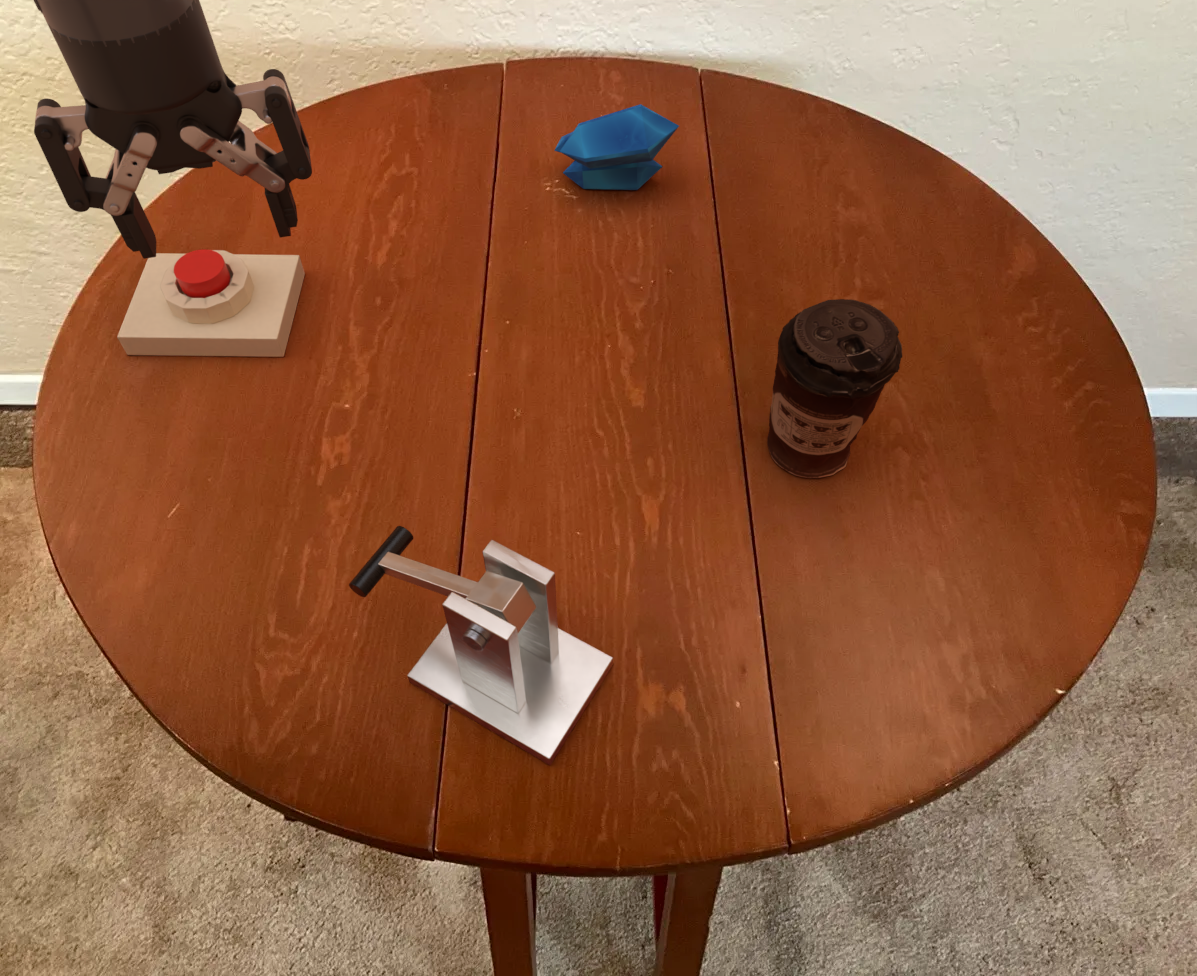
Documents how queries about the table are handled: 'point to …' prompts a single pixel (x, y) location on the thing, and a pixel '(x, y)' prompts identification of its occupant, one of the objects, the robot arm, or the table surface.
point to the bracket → (513, 663)
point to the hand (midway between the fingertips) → (218, 239)
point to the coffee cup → (828, 383)
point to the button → (202, 273)
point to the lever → (445, 581)
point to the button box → (215, 309)
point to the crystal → (616, 149)
